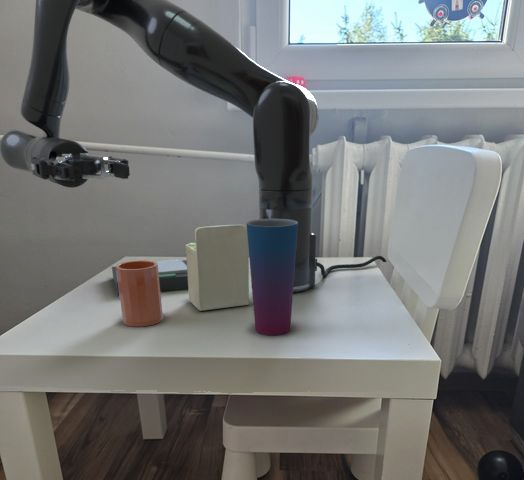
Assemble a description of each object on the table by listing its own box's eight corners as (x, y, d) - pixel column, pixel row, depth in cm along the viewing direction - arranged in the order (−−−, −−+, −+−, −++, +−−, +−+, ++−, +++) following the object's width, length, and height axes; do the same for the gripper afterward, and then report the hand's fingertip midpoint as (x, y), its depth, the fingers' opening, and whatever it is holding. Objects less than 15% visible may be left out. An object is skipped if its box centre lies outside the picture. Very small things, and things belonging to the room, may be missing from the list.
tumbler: (159, 312, 79) (154, 259, 76) (165, 323, 74) (160, 267, 71) (121, 316, 77) (114, 262, 74) (125, 328, 72) (117, 271, 69)
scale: (187, 271, 103) (186, 257, 102) (201, 287, 92) (200, 271, 91) (113, 278, 99) (111, 263, 98) (118, 296, 88) (116, 279, 86)
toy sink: (234, 293, 88) (232, 217, 83) (250, 305, 82) (248, 224, 77) (187, 299, 85) (181, 221, 80) (200, 312, 79) (194, 228, 73)
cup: (300, 323, 73) (302, 219, 68) (290, 339, 67) (291, 227, 62) (256, 319, 75) (254, 217, 69) (242, 335, 69) (239, 225, 63)
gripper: (13, 137, 80) (48, 145, 69) (98, 138, 89) (141, 146, 78) (21, 186, 83) (55, 201, 72) (102, 182, 92) (144, 195, 81)
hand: (99, 172), depth 75 cm, fingers open, 8 cm apart
